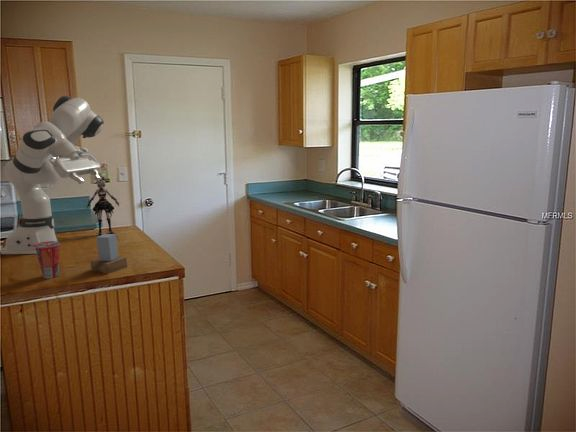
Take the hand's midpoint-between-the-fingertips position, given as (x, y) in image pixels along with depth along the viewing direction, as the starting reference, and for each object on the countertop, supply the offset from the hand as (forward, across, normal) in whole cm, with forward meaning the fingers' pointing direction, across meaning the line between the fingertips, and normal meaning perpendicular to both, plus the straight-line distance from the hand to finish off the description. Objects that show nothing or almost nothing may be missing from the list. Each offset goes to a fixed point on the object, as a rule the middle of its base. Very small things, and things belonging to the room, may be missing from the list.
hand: (90, 181), depth 187 cm
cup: (+21, -24, +23) cm, 40 cm away
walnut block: (+32, -10, +13) cm, 36 cm away
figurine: (+5, +35, +39) cm, 53 cm away
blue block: (+29, -10, +10) cm, 32 cm away
